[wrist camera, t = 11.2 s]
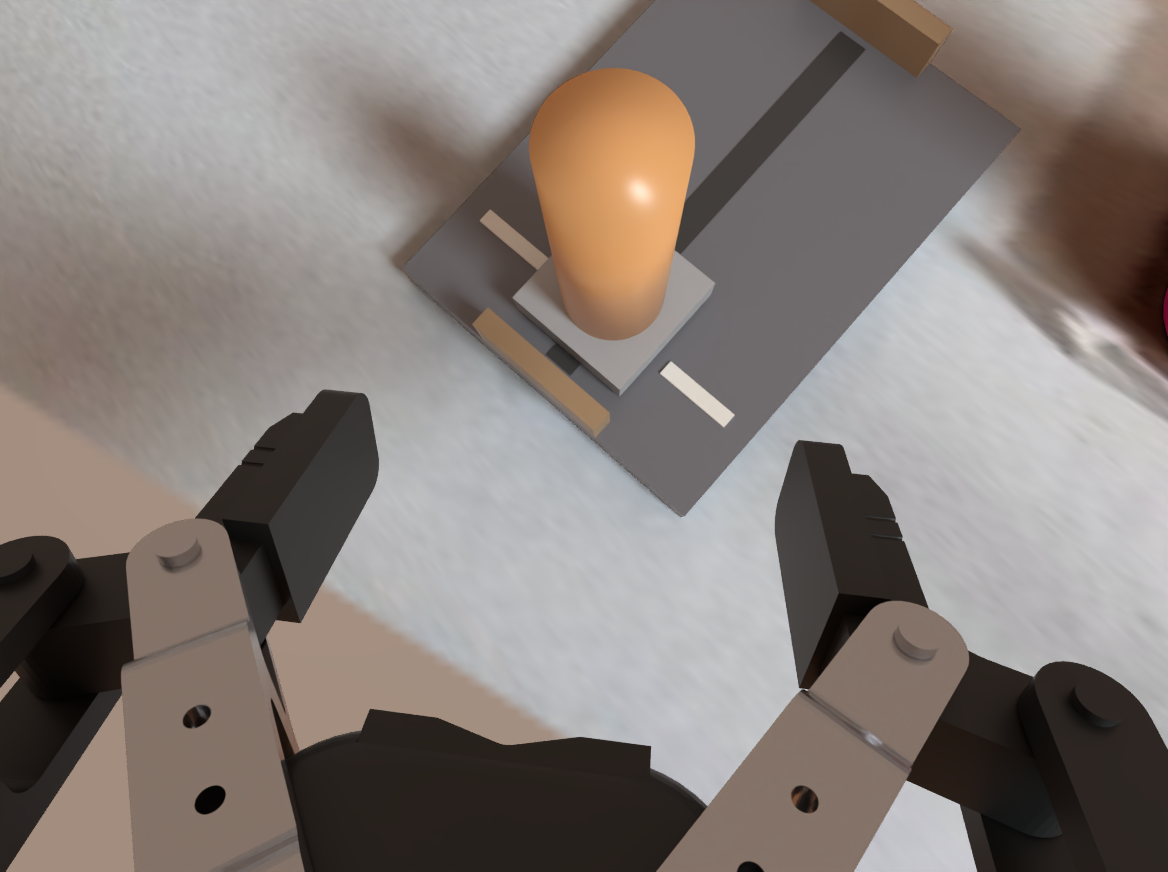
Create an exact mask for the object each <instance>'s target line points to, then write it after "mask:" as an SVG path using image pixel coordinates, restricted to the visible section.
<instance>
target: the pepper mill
mask: <svg viewBox="0 0 1168 872" xmlns="http://www.w3.org/2000/svg"><path fill="white" fill-rule="evenodd" d="M1163 319H1164V323H1165V328H1166V332H1167V336H1168V288H1167V292H1166V295H1165V299H1164V313H1163Z"/></svg>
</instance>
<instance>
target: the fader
mask: <svg viewBox="0 0 1168 872" xmlns="http://www.w3.org/2000/svg"><path fill="white" fill-rule="evenodd" d="M694 151H695V135H694V129H693V125H692V121H691V118H690V116H689V114H688V112H687V109H686V108H685V106H684V105H683V103H682V102H681V100H680V99H679V98H678V96H677V95H676V94H675V93H674V92H673V91H672V90H671V89H670V88H668V87H667V86H666V85H665V84H663V83H662V82H660V81H659V80H657V79H655V78H653V77H651V76H649V75H647V74H644V73H641V72H639V71H634V70H630V69H622V68H605V69H598V70H593V71H589V72H586V73H583V74H581V75H578V76H576V77H574V78H572V79H570V80H568V81H567V82H565V83H564V84H562V85H561V86H560V87H558V88H557V89H556V90H555V91H554V92H553V93H552V94H551V95H550V96H549V97H548V98H547V99H546V101H545V102H544V103H543V105H542V106H541V108H540V109H539V111H538V113H537V115H536V117H535V119H534V122H533V125H532V128H531V132H530V139H529V155H530V162H531V166H532V170H533V175H534V179H535V183H536V188H537V192H538V196H539V201H540V205H541V209H542V214H543V218H544V222H545V227H546V231H547V235H548V240H549V244H550V248H551V253H552V255H551V256H550V257H549V258H548V260H547V261H546V262H545V263H544V264H543V265H542V266H541V267H540V268H539V269H538V270H537V271H536V273H535V274H534V275H533V276H532V277H531V278H530V279H529V280H528V281H527V282H526V283H525V284H524V285H523V287H522V288H521V289H520V290H519V291H518V292H517V293H516V294H515V295H514V296H513V297H512V298H513V300H514V303H515V305H516V307H517V309H518V310H519V311H520V312H522V313H523V314H524V315H525V316H526V317H527V318H529V319H530V320H531V321H532V322H533V323H534V324H536V325H537V326H538V327H539V328H540V329H541V330H542V331H544V332H545V333H546V334H547V335H548V336H549V337H551V338H552V339H553V340H554V341H555V342H556V343H558V344H559V345H560V346H561V347H562V348H563V349H565V350H566V351H567V352H568V353H569V354H570V355H572V356H573V357H574V358H575V359H576V360H577V361H579V362H580V363H581V364H582V365H583V366H584V367H586V368H587V369H588V370H589V371H590V372H591V373H592V374H594V375H595V376H596V377H597V378H598V379H599V380H601V381H602V382H603V383H604V384H605V385H606V386H608V387H609V388H610V389H611V390H612V391H613V392H615V393H616V394H617V395H618V396H619V397H620V396H621V395H622V394H623V392H624V391H625V390H626V389H627V388H628V387H629V386H630V385H631V384H632V382H633V381H634V380H635V379H636V378H637V377H638V376H639V375H640V373H641V372H642V371H643V370H644V369H645V368H646V367H647V366H648V365H649V363H650V362H651V361H652V360H653V359H654V358H655V357H656V356H657V354H658V353H659V352H660V351H661V350H662V349H663V348H664V347H665V346H666V344H667V343H668V342H669V341H670V340H671V339H672V338H673V337H674V335H675V334H676V333H677V332H678V331H679V330H680V329H681V328H682V327H683V325H684V324H685V323H686V322H687V321H688V320H689V319H690V318H691V316H692V315H693V314H694V313H695V312H696V311H697V310H698V309H699V308H700V306H701V305H702V304H703V303H704V302H705V301H706V300H707V299H708V297H709V296H710V295H711V293H712V290H713V288H714V285H715V282H713V281H712V280H711V279H710V278H708V277H707V276H706V275H705V274H703V273H702V272H701V271H700V270H698V269H697V268H696V267H695V266H694V265H692V264H691V263H690V262H689V261H687V260H686V259H685V258H684V257H682V256H681V255H680V254H679V253H678V252H676V251H675V246H676V241H677V236H678V231H679V226H680V221H681V217H682V212H683V207H684V202H685V197H686V192H687V188H688V183H689V178H690V173H691V168H692V163H693V159H694Z"/></svg>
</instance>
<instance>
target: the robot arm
mask: <svg viewBox="0 0 1168 872" xmlns="http://www.w3.org/2000/svg"><path fill="white" fill-rule="evenodd" d="M378 470H379V457H378V451H377V445H376V439H375V434H374V428H373V422H372V416H371V411H370V405H369V401H368V398H367V397H366V395H365V394H363V393H354V392H344V391H335V390H322V391H321V392H319V394H318V395H317V396H316V397H315V399H314V400H313V401H312V403H311V404H310V405H309V406H308V408H307V409H306V410H305V412H304V413H303V414H301V413H292V414H290V415H289V416H287V417H285V418H284V419H282V420H281V421H279V422H277V423H276V424H274V425H273V426H271V427H270V428H269V429H268V430H267V431H266V432H265V433H264V435H263V436H262V437H261V438H260V440H259V441H258V442H257V443H256V444H255V446H254V450H251V451H250V452H249V453H248V454H247V455H246V457H245V458H244V459H243V460H242V465H238V466H237V468H236V469H235V470H234V471H233V472H232V474H231V475H230V476H229V477H228V479H227V480H226V481H225V482H224V483H223V485H222V486H221V487H220V488H219V490H218V491H217V492H216V493H215V494H214V496H213V497H212V498H211V499H210V501H209V502H208V503H207V504H206V505H205V507H204V508H203V509H202V510H201V512H200V513H199V514H198V515H197V516H196V518H195V519H187V520H181V521H177V522H173V523H170V524H167V525H165V526H162V527H160V528H158V529H156V530H154V531H153V532H151V533H150V534H148V535H146V536H145V537H144V538H142V539H141V540H140V541H139V542H138V543H137V544H136V545H135V546H134V548H133V549H132V550H131V552H129V553H122V554H114V555H106V556H99V557H90V558H83V559H75V557H74V556H73V554H72V552H71V551H70V549H69V547H68V546H67V544H66V543H65V542H63V541H61V540H60V539H58V538H55V537H50V536H32V537H25V538H20V539H17V540H13V541H9V542H7V543H4V544H2V545H0V687H2V685H3V684H4V683H5V682H6V680H7V679H8V678H9V677H10V675H11V674H12V673H13V672H14V671H15V672H16V673H17V674H18V676H19V677H20V678H19V679H18V681H17V682H16V683H15V684H14V686H13V687H12V688H11V689H10V691H9V692H8V693H7V694H6V696H5V697H4V698H3V699H2V701H1V702H0V872H6V870H7V869H8V867H9V865H10V864H11V862H12V861H13V860H14V858H15V857H16V855H17V853H18V852H19V850H20V849H21V847H22V846H23V844H24V843H25V841H26V840H27V838H28V837H29V835H30V833H31V832H32V830H33V829H34V828H35V826H36V825H37V823H38V821H39V820H40V818H41V817H42V815H43V814H44V812H45V811H46V809H47V808H48V806H49V804H50V803H51V802H52V800H53V799H54V797H55V796H56V794H57V793H58V791H59V789H60V788H61V786H62V785H63V783H64V782H65V780H66V779H67V777H68V776H69V774H70V773H71V771H72V770H73V768H74V767H75V765H76V764H77V762H78V760H79V759H80V757H81V756H82V754H83V753H84V751H85V750H86V748H87V747H88V745H89V744H90V742H91V740H92V739H93V738H94V736H95V735H96V733H97V732H98V730H99V728H100V727H101V725H102V724H103V722H104V721H105V719H106V718H107V716H108V715H109V713H110V712H111V710H112V709H113V707H114V705H115V704H116V702H117V701H118V700H119V698H120V696H121V695H122V698H123V713H124V727H125V740H126V755H127V769H128V783H129V797H130V810H131V826H132V838H133V839H132V840H133V853H134V867H135V872H854V870H855V869H856V867H857V865H858V863H859V862H860V860H861V858H862V856H863V855H864V853H865V851H866V849H867V848H868V846H869V844H870V842H871V841H872V839H873V837H874V835H875V834H876V832H877V830H878V828H879V827H880V825H881V823H882V821H883V820H884V818H885V816H886V814H887V813H888V811H889V809H890V807H891V805H892V804H893V802H894V800H895V798H896V797H897V795H898V793H899V791H900V790H901V788H902V786H903V784H904V783H905V781H906V780H907V781H909V782H911V783H913V784H916V785H918V786H920V787H922V788H925V789H927V790H929V791H931V792H933V793H936V794H938V795H940V796H942V797H945V798H947V799H949V800H951V801H954V802H956V803H958V804H960V807H961V811H962V815H963V819H964V822H965V826H966V830H967V834H968V838H969V842H970V845H971V849H972V853H973V857H974V861H975V865H976V868H977V872H1168V749H1167V747H1166V745H1165V743H1164V742H1163V740H1162V738H1161V736H1160V734H1159V732H1158V730H1157V728H1156V727H1155V725H1154V723H1153V721H1152V719H1151V717H1150V716H1149V714H1148V712H1147V711H1146V709H1145V708H1144V707H1143V705H1142V704H1141V703H1140V702H1139V700H1138V699H1137V698H1136V697H1135V696H1134V695H1133V694H1132V693H1131V692H1130V691H1128V690H1127V689H1126V688H1125V687H1124V686H1122V685H1121V684H1120V683H1118V682H1117V681H1115V680H1114V679H1113V678H1111V677H1109V676H1107V675H1106V674H1104V673H1102V672H1100V671H1098V670H1096V669H1093V668H1091V667H1088V666H1085V665H1082V664H1078V663H1074V662H1065V661H1062V662H1053V663H1049V664H1047V665H1045V666H1043V667H1042V668H1041V669H1040V670H1039V671H1038V672H1037V674H1036V675H1035V676H1034V677H1032V676H1029V675H1027V674H1024V673H1021V672H1019V671H1016V670H1013V669H1011V668H1008V667H1005V666H1003V665H1000V664H997V663H995V662H992V661H990V660H987V659H985V658H982V657H980V656H978V655H976V654H974V653H972V652H970V651H968V649H967V646H966V644H965V642H964V640H963V638H962V637H961V635H960V634H959V633H958V631H957V630H956V629H955V628H954V627H953V626H952V625H951V624H950V623H949V622H948V621H947V620H945V619H944V618H943V617H942V616H940V615H938V614H937V613H935V612H934V611H932V610H930V609H929V608H928V605H927V602H926V600H925V597H924V594H923V591H922V589H921V586H920V583H919V580H918V578H917V575H916V572H915V570H914V567H913V564H912V561H911V559H910V556H909V553H908V550H907V548H906V545H905V542H904V541H902V534H901V531H900V528H899V526H898V523H895V520H896V518H895V515H894V512H893V509H892V507H891V504H890V501H889V498H888V496H887V495H886V494H885V493H884V492H883V490H882V489H881V488H880V487H879V486H878V485H877V484H876V483H875V482H874V481H873V480H872V478H871V477H870V476H869V475H861V474H852V473H851V470H850V467H849V464H848V460H847V457H846V454H845V451H844V448H843V446H842V445H840V444H831V443H822V442H812V441H803V440H799V441H797V443H796V444H795V447H794V449H793V452H792V456H791V459H790V463H789V466H788V469H787V473H786V476H785V479H784V483H783V486H782V489H781V493H780V496H779V499H778V503H777V508H776V515H775V538H776V544H777V550H778V557H779V563H780V569H781V576H782V582H783V588H784V595H785V601H786V608H787V614H788V620H789V627H790V633H791V639H792V646H793V652H794V659H795V665H796V671H797V678H798V684H799V688H802V689H803V690H801V691H800V692H799V693H798V694H797V695H796V696H795V697H794V698H793V699H792V700H791V702H790V703H789V704H788V705H787V707H786V708H785V709H784V711H783V712H782V713H781V714H780V716H779V717H778V718H777V719H776V721H775V722H774V723H773V724H772V726H771V727H770V728H769V730H768V731H767V732H766V733H765V735H764V736H763V737H762V738H761V740H760V741H759V742H758V743H757V745H756V746H755V747H754V749H753V750H752V751H751V752H750V754H749V755H748V756H747V757H746V759H745V760H744V761H743V762H742V764H741V765H740V766H739V768H738V769H737V770H736V771H735V773H734V774H733V775H732V776H731V778H730V779H729V780H728V781H727V783H726V784H725V785H724V787H723V788H722V789H721V790H720V792H719V793H718V794H717V795H716V797H715V798H714V799H713V800H712V802H711V803H710V804H709V806H707V805H706V804H705V803H704V802H703V801H701V800H700V799H699V798H698V797H697V796H696V795H695V794H694V793H692V792H691V791H690V790H688V789H687V788H685V787H684V786H683V785H681V784H680V783H678V782H677V781H675V780H673V779H671V778H670V777H668V776H666V775H664V774H662V773H660V772H658V771H655V770H653V769H651V768H650V759H651V746H645V745H637V744H630V743H622V742H615V741H607V740H600V739H592V738H585V737H576V738H567V739H559V740H551V741H543V742H534V743H526V744H517V745H502V744H499V743H496V742H494V741H492V740H489V739H487V738H484V737H482V736H480V735H477V734H475V733H473V732H470V731H468V730H465V729H463V728H461V727H458V726H456V725H453V724H451V723H449V722H446V721H444V720H441V719H439V718H435V717H427V716H419V715H412V714H405V713H397V712H390V711H382V710H374V709H370V710H369V713H368V715H367V718H366V720H365V723H364V725H363V728H362V730H361V731H356V732H351V733H347V734H343V735H338V736H334V737H332V738H329V739H326V740H323V741H321V742H318V743H316V744H314V745H312V746H310V747H307V748H305V749H303V750H301V751H300V750H299V747H298V744H297V741H296V738H295V735H294V732H293V728H292V725H291V721H290V718H289V714H288V710H287V706H286V703H285V699H284V695H283V692H282V688H281V684H280V681H279V677H278V674H277V669H276V666H275V662H274V658H273V655H272V651H271V647H270V644H269V641H268V638H267V634H268V632H269V631H270V629H271V627H272V626H273V624H274V622H275V620H281V621H288V622H296V623H301V621H302V620H303V618H304V616H305V614H306V612H307V610H308V609H309V607H310V605H311V603H312V601H313V599H314V597H315V596H316V594H317V592H318V590H319V588H320V586H321V585H322V583H323V581H324V579H325V577H326V575H327V574H328V572H329V570H330V568H331V566H332V564H333V563H334V561H335V559H336V557H337V555H338V553H339V552H340V550H341V548H342V546H343V544H344V542H345V541H346V539H347V537H348V535H349V533H350V531H351V530H352V528H353V526H354V524H355V522H356V520H357V519H358V517H359V515H360V513H361V511H362V509H363V508H364V506H365V504H366V502H367V500H368V498H369V497H370V495H371V493H372V491H373V489H374V487H375V484H376V481H377V476H378ZM804 689H809V690H808V691H806V690H804Z"/></svg>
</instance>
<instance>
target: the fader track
mask: <svg viewBox="0 0 1168 872" xmlns="http://www.w3.org/2000/svg"><path fill="white" fill-rule="evenodd" d="M952 30H953V28H951V27H950V26H949V25H947V24H946V23H944V22H943V21H942V20H940V19H939V18H937V17H936V16H935V15H933V14H932V13H930V12H929V11H927V10H926V9H925V8H923V7H922V6H920V5H919V4H918V3H916V2H915V1H913V0H655V1H654V2H653V3H652V4H651V5H650V6H649V7H648V9H647V10H646V11H645V12H644V13H643V14H642V15H641V16H640V17H639V18H638V19H637V20H636V21H635V22H634V23H633V24H632V25H631V27H630V28H629V29H628V30H627V31H626V32H625V33H624V34H623V35H622V36H621V37H620V38H619V39H618V40H617V41H616V42H615V43H614V45H613V46H612V47H611V48H610V49H609V50H608V51H607V52H606V53H605V54H604V55H603V56H602V57H601V58H600V59H599V60H598V61H597V62H596V64H595V65H594V66H593V67H592V68H591V69H590V70H589V71H593V70H598V69H605V68H622V69H630V70H634V71H639V72H641V73H644V74H647V75H649V76H651V77H653V78H655V79H657V80H659V81H660V82H662V83H663V84H665V85H666V86H667V87H668V88H670V89H671V90H672V91H673V92H674V93H675V94H676V95H677V96H678V98H679V99H680V100H681V102H682V103H683V105H684V106H685V108H686V109H687V112H688V114H689V116H690V118H691V121H692V125H693V129H694V135H695V151H694V159H693V163H692V168H691V173H690V178H689V183H688V188H687V192H686V197H685V202H684V207H683V212H682V217H681V221H680V226H679V231H678V236H677V241H676V246H675V251H676V252H678V253H679V254H680V255H681V256H682V257H684V258H685V259H686V260H687V261H689V262H690V263H691V264H692V265H694V266H695V267H696V268H697V269H698V270H700V271H701V272H702V273H703V274H705V275H706V276H707V277H708V278H710V279H711V280H712V281H713V282H715V285H714V288H713V290H712V293H711V295H710V296H709V297H708V299H707V300H706V301H705V302H704V303H703V304H702V305H701V306H700V308H699V309H698V310H697V311H696V312H695V313H694V314H693V315H692V316H691V318H690V319H689V320H688V321H687V322H686V323H685V324H684V325H683V327H682V328H681V329H680V330H679V331H678V332H677V333H676V334H675V335H674V337H673V338H672V339H671V340H670V341H669V342H668V343H667V344H666V346H665V347H664V348H663V349H662V350H661V351H660V352H659V353H658V354H657V356H656V357H655V358H654V359H653V360H652V361H651V362H650V363H649V365H648V366H647V367H646V368H645V369H644V370H643V371H642V372H641V373H640V375H639V376H638V377H637V378H636V379H635V380H634V381H633V382H632V384H631V385H630V386H629V387H628V388H627V389H626V390H625V391H624V392H623V394H622V395H621V396H620V397H619V396H618V395H617V394H616V393H615V392H613V391H612V390H611V389H610V388H609V387H608V386H606V385H605V384H604V383H603V382H602V381H601V380H599V379H598V378H597V377H596V376H595V375H594V374H592V373H591V372H590V371H589V370H588V369H587V368H586V367H584V366H583V365H582V364H581V363H580V362H579V361H577V360H576V359H575V358H574V357H573V356H572V355H570V354H569V353H568V352H567V351H566V350H565V349H563V348H562V347H561V346H560V345H559V344H558V343H556V342H555V341H554V340H553V339H552V338H551V337H549V336H548V335H547V334H546V333H545V332H544V331H542V330H541V329H540V328H539V327H538V326H537V325H536V324H534V323H533V322H532V321H531V320H530V319H529V318H527V317H526V316H525V315H524V314H523V313H522V312H520V311H519V310H518V309H517V307H516V305H515V303H514V300H513V298H512V297H513V296H514V295H515V294H516V293H517V292H518V291H519V290H520V289H521V288H522V287H523V285H524V284H525V283H526V282H527V281H528V280H529V279H530V278H531V277H532V276H533V275H534V274H535V273H536V271H537V270H538V269H539V268H540V267H541V266H542V265H543V264H544V263H545V262H546V261H547V260H548V258H549V257H550V256H551V255H552V253H551V248H550V244H549V240H548V235H547V231H546V227H545V222H544V218H543V214H542V209H541V205H540V201H539V196H538V192H537V188H536V183H535V179H534V175H533V170H532V166H531V162H530V155H529V139H530V133H529V134H528V135H527V137H526V138H525V139H524V140H523V141H522V142H521V143H520V144H519V145H518V146H517V147H516V148H515V149H514V150H513V151H512V152H511V153H510V154H509V156H508V157H507V158H506V159H505V160H504V161H503V162H502V163H501V164H500V165H499V166H498V167H497V168H496V169H495V170H494V171H493V172H492V174H491V175H490V176H489V177H488V178H487V179H486V180H485V181H484V182H483V183H482V184H481V185H480V186H479V187H478V188H477V189H476V190H475V192H474V193H473V194H472V195H471V196H470V197H469V198H468V199H467V200H466V201H465V202H464V203H463V204H462V205H461V206H460V207H459V208H458V209H457V211H456V212H455V213H454V214H453V215H452V216H451V217H450V218H449V219H448V220H447V221H446V222H445V223H444V224H443V225H442V226H441V227H440V229H439V230H438V231H437V232H436V233H435V234H434V235H433V236H432V237H431V238H430V239H429V240H428V241H427V242H426V243H425V244H424V245H423V246H422V248H421V249H420V250H419V251H418V252H417V253H416V254H415V255H414V256H413V257H412V258H411V259H410V260H409V261H408V262H407V263H406V264H405V266H404V267H403V268H402V269H403V270H404V272H405V273H406V274H407V275H408V277H409V278H410V279H411V280H412V282H413V283H414V284H415V285H417V286H418V287H419V288H420V289H421V290H422V291H423V292H425V293H426V294H427V295H428V296H429V297H430V298H431V299H433V300H434V301H435V302H436V303H437V304H438V305H439V306H441V307H442V308H443V309H444V310H445V311H446V312H447V313H448V314H450V315H451V316H452V317H453V318H454V319H455V320H456V321H458V322H459V323H460V324H461V325H462V326H463V327H464V328H466V329H467V330H468V331H469V332H470V333H471V334H472V335H474V336H475V337H476V338H477V339H478V340H479V341H480V342H482V343H483V344H484V345H485V346H486V347H487V348H488V349H490V350H491V351H492V352H493V353H494V354H495V355H496V356H498V357H499V358H500V359H501V360H502V361H503V362H504V363H506V364H507V365H508V366H509V367H510V368H511V369H512V370H513V371H515V372H516V373H517V374H518V375H519V376H520V377H521V378H523V379H524V380H525V381H526V382H527V383H528V384H529V385H531V386H532V387H533V388H534V389H535V390H536V391H537V392H539V393H540V394H541V395H542V396H543V397H544V398H545V399H547V400H548V401H549V402H550V403H551V404H552V405H553V406H555V407H556V408H557V409H558V410H559V411H560V412H561V413H563V414H564V415H565V416H566V417H567V418H568V419H569V420H571V421H572V422H573V423H574V424H575V425H576V426H577V427H578V428H580V429H581V430H582V431H583V432H584V433H585V434H586V435H588V436H589V437H590V438H591V439H592V440H593V441H594V442H596V443H597V444H598V445H599V446H600V447H601V448H602V449H604V450H605V451H606V452H607V453H608V454H609V455H610V456H612V457H613V458H614V459H615V460H616V461H617V462H618V463H620V464H621V465H622V466H623V467H624V468H625V469H626V470H628V471H629V472H630V473H631V474H632V475H633V476H634V477H636V478H637V479H638V480H639V481H640V482H641V483H642V484H643V485H645V486H646V487H647V488H648V489H649V490H650V491H651V492H653V493H654V494H655V495H656V496H657V497H658V498H659V499H661V500H662V501H663V502H664V503H665V504H666V505H667V506H669V507H670V508H671V509H672V510H673V511H674V512H675V513H677V514H678V515H679V516H680V517H683V516H685V515H686V514H687V513H688V511H689V510H690V509H691V508H692V507H693V506H694V505H695V503H696V502H697V501H698V500H699V499H700V498H701V497H702V495H703V494H704V493H705V492H706V491H707V490H708V488H709V487H710V486H711V485H712V484H713V483H714V482H715V480H716V479H717V478H718V477H719V476H720V475H721V474H722V472H723V471H724V470H725V469H726V468H727V467H728V466H729V464H730V463H731V462H732V461H733V460H734V459H735V457H736V456H737V455H738V454H739V453H740V452H741V451H742V449H743V448H744V447H745V446H746V445H747V444H748V443H749V441H750V440H751V439H752V438H753V437H754V436H755V434H756V433H757V432H758V431H759V430H760V429H761V428H762V426H763V425H764V424H765V423H766V422H767V421H768V420H769V418H770V417H771V416H772V415H773V414H774V413H775V411H776V410H777V409H778V408H779V407H780V406H781V405H782V403H783V402H784V401H785V400H786V399H787V398H788V397H789V395H790V394H791V393H792V392H793V391H794V390H795V388H796V387H797V386H798V385H799V384H800V383H801V382H802V380H803V379H804V378H805V377H806V376H807V375H808V374H809V372H810V371H811V370H812V369H813V368H814V367H815V366H816V364H817V363H818V362H819V361H820V360H821V359H822V357H823V356H824V355H825V354H826V353H827V352H828V351H829V349H830V348H831V347H832V346H833V345H834V344H835V343H836V341H837V340H838V339H839V338H840V337H841V336H842V334H843V333H844V332H845V331H846V330H847V329H848V328H849V326H850V325H851V324H852V323H853V322H854V321H855V320H856V318H857V317H858V316H859V315H860V314H861V313H862V311H863V310H864V309H865V308H866V307H867V306H868V305H869V303H870V302H871V301H872V300H873V299H874V298H875V297H876V295H877V294H878V293H879V292H880V291H881V290H882V288H883V287H884V286H885V285H886V284H887V283H888V282H889V280H890V279H891V278H892V277H893V276H894V275H895V274H896V272H897V271H898V270H899V269H900V268H901V267H902V266H903V264H904V263H905V262H906V261H907V260H908V259H909V257H910V256H911V255H912V254H913V253H914V252H915V251H916V249H917V248H918V247H919V246H920V245H921V244H922V243H923V241H924V240H925V239H926V238H927V237H928V236H929V234H930V233H931V232H932V231H933V230H934V229H935V228H936V226H937V225H938V224H939V223H940V222H941V221H942V220H943V218H944V217H945V216H946V215H947V214H948V213H949V211H950V210H951V209H952V208H953V207H954V206H955V205H956V203H957V202H958V201H959V200H960V199H961V198H962V197H963V195H964V194H965V193H966V192H967V191H968V190H969V189H970V187H971V186H972V185H973V184H974V183H975V182H976V180H977V179H978V178H979V177H980V176H981V175H982V174H983V172H984V171H985V170H986V169H987V168H988V167H989V166H990V164H991V163H992V162H993V161H994V160H995V159H996V157H997V156H998V155H999V154H1000V153H1001V152H1002V151H1003V149H1004V148H1005V147H1006V146H1007V145H1008V144H1009V143H1010V141H1011V140H1012V139H1013V138H1014V137H1015V136H1016V134H1017V133H1018V132H1019V131H1020V130H1021V129H1020V128H1019V127H1018V126H1016V125H1015V124H1013V123H1012V122H1011V121H1009V120H1008V119H1007V118H1005V117H1004V116H1002V115H1001V114H1000V113H998V112H997V111H995V110H994V109H993V108H991V107H990V106H988V105H987V104H986V103H984V102H983V101H982V100H980V99H979V98H977V97H976V96H975V95H973V94H972V93H970V92H969V91H968V90H966V89H965V88H963V87H962V86H961V85H959V84H958V83H957V82H955V81H954V80H952V79H951V78H950V77H948V76H947V75H945V74H944V73H943V72H941V71H940V70H938V69H937V68H936V67H934V66H933V65H932V64H930V62H931V61H932V59H933V58H934V57H935V55H936V54H937V52H938V51H939V49H940V48H941V46H942V45H943V43H944V42H945V40H946V39H947V37H948V36H949V34H950V33H951V31H952ZM589 71H588V72H589Z"/></svg>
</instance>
